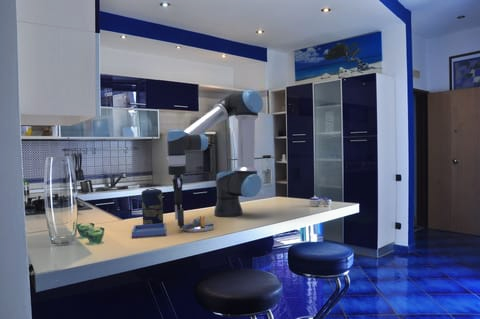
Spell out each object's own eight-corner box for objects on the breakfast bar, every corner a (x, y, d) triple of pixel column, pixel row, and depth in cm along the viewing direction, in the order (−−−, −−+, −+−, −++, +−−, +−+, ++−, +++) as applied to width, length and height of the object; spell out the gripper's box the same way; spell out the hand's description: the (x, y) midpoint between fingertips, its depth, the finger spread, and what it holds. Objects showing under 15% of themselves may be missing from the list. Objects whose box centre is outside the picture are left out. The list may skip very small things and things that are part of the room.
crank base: (212, 224, 174) (211, 210, 173) (216, 230, 160) (215, 215, 160) (181, 226, 171) (181, 212, 171) (183, 233, 157) (182, 218, 157)
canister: (158, 228, 169) (156, 188, 169) (139, 227, 171) (137, 189, 171) (166, 224, 179) (165, 186, 178) (148, 223, 181) (146, 186, 180)
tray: (165, 228, 168) (165, 223, 168) (166, 235, 153) (165, 229, 153) (134, 230, 165) (134, 225, 165) (131, 238, 151) (131, 232, 151)
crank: (199, 223, 168) (198, 205, 168) (204, 224, 165) (203, 206, 165) (176, 228, 160) (175, 209, 160) (181, 229, 157) (180, 210, 157)
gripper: (166, 164, 166) (168, 217, 168) (169, 166, 154) (171, 222, 155) (183, 164, 168) (185, 215, 170) (187, 165, 156) (189, 221, 157)
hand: (178, 219), depth 162 cm, fingers closed
